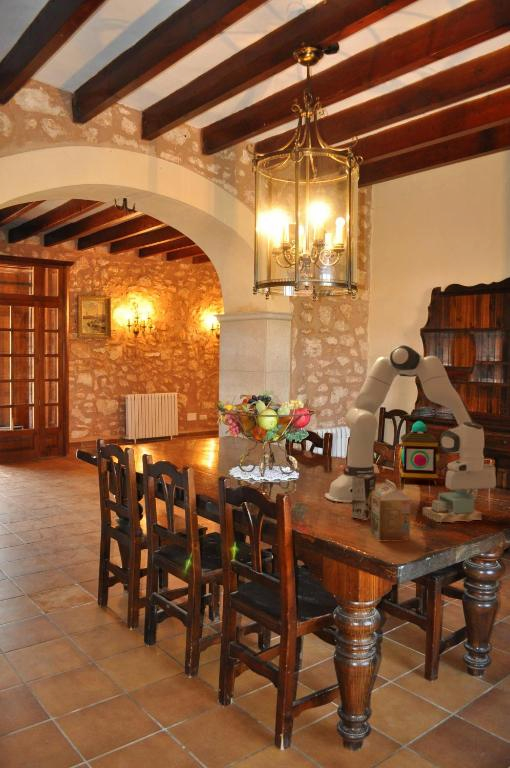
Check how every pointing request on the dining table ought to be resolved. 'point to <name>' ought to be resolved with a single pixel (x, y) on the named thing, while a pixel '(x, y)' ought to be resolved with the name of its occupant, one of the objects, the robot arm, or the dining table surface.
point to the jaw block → (439, 506)
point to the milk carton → (390, 513)
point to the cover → (458, 501)
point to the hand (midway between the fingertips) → (470, 499)
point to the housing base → (451, 515)
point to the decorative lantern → (418, 454)
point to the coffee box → (362, 495)
